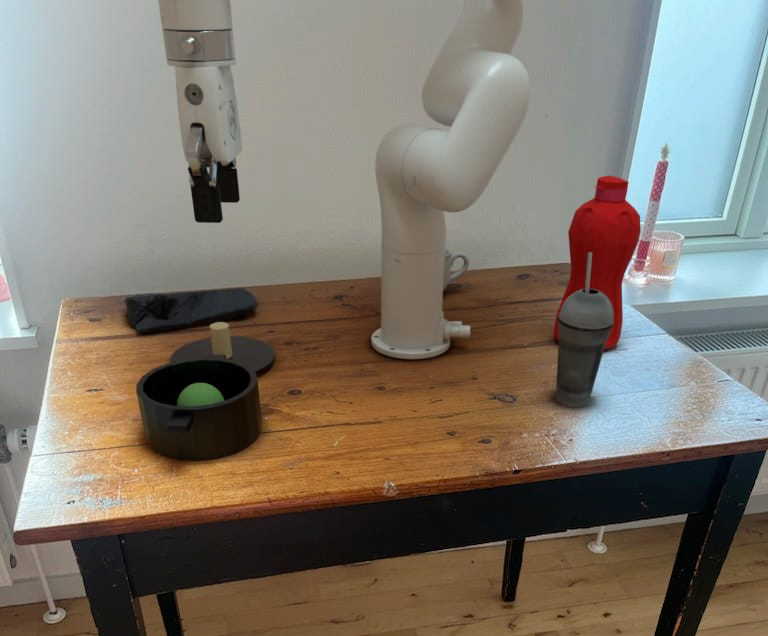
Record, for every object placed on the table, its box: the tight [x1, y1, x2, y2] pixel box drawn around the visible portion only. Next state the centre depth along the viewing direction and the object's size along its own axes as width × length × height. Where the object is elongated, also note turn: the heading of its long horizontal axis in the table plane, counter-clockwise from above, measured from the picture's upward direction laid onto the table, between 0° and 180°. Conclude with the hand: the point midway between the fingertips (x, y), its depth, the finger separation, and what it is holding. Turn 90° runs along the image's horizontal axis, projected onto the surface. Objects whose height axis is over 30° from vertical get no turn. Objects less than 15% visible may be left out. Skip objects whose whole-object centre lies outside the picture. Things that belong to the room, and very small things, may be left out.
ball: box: [177, 383, 225, 407], centre depth 95 cm, size 6×6×6 cm
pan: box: [135, 354, 263, 462], centre depth 95 cm, size 15×20×7 cm
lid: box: [169, 321, 276, 376], centre depth 112 cm, size 16×16×6 cm
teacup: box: [443, 247, 470, 291], centre depth 138 cm, size 14×11×8 cm
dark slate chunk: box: [124, 287, 258, 334], centre depth 129 cm, size 15×22×5 cm
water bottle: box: [553, 175, 642, 350], centre depth 115 cm, size 9×11×25 cm
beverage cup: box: [555, 252, 614, 408], centre depth 99 cm, size 7×7×20 cm
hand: (218, 211), depth 93 cm, fingers open, 9 cm apart
